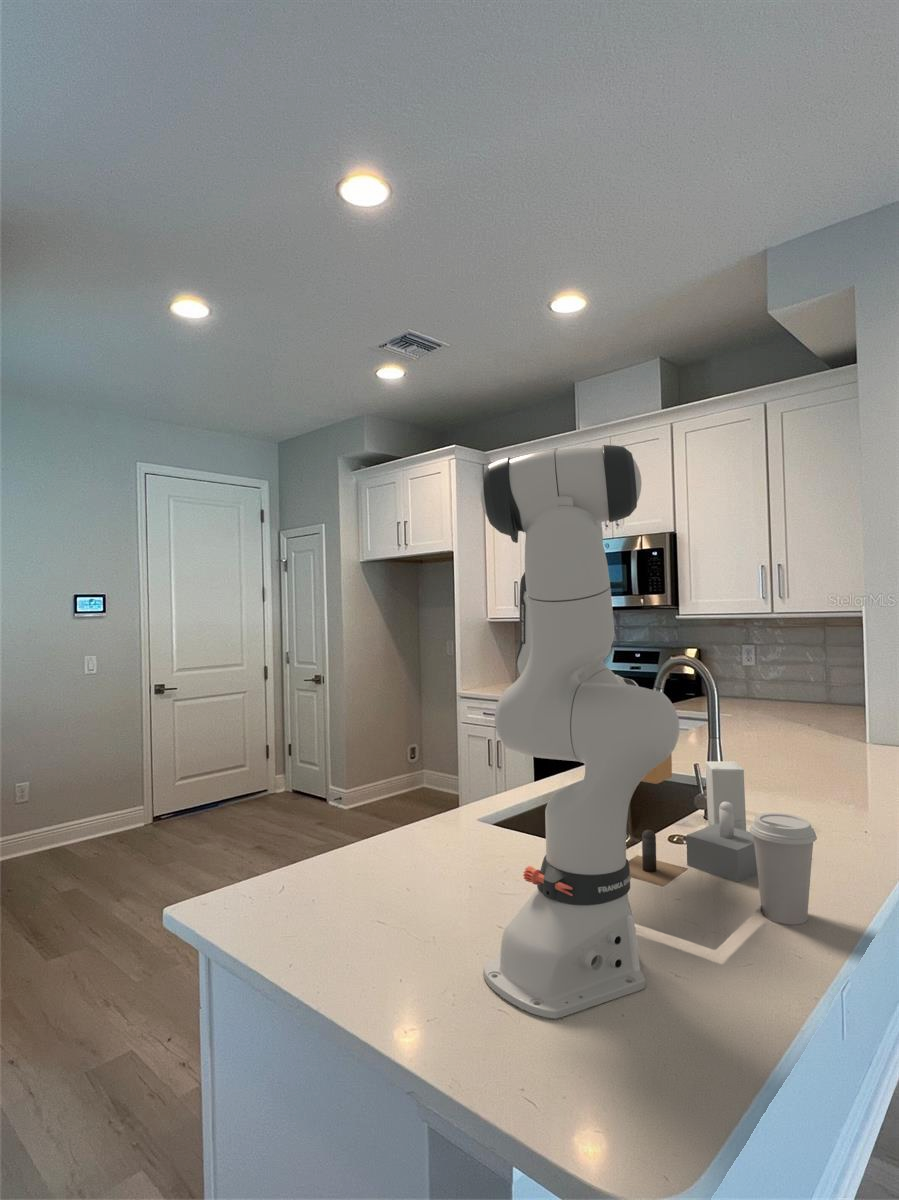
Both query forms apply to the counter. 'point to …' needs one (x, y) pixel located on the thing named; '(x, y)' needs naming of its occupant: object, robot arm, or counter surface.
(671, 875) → the stand
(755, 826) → the coffee cup
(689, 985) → the counter surface
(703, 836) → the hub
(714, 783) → the skincare box
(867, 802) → the counter surface
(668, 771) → the sleeve
